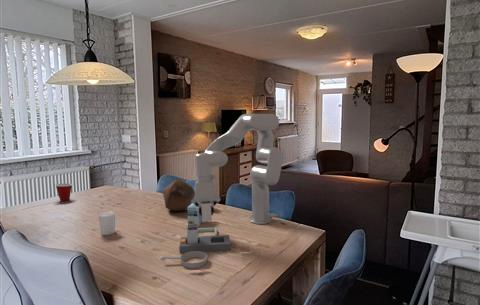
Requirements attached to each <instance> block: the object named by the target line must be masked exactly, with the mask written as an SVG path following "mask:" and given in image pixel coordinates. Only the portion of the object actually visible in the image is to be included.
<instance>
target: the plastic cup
mask: <svg viewBox="0 0 480 305" xmlns="http://www.w3.org/2000/svg"><path fill="white" fill-rule="evenodd" d="M73 185H74V184H73V183H66V182H65V183H57V184H55V186H56V191H57V194H58V198H59V201H60V202H61V203H62V202H63V203H65V202H69V201H70V199H71V193H72V192H71V191H72V187H73Z"/></svg>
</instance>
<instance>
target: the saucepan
mask: <svg viewBox="0 0 480 305" xmlns="http://www.w3.org/2000/svg"><path fill="white" fill-rule="evenodd" d="M161 258H162V259H164V260H165V259H167V260H168V259H169V260H180V263H181V265H182V266H183V268H187V269H191V271H196V270H198V269H199V268H201V267H203V266H205V265H206V264H207V263H208V262H207V261H208V254H207V252H201V251H191V252H187V253H182V255H181V256H169V255H168V256H167V255H166V256H165V255H163V256H162V257H161ZM191 258H202V259H204V260H201V261H198V262H186V261H185V260H187V259H191Z"/></svg>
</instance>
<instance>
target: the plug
mask: <svg viewBox="0 0 480 305" xmlns="http://www.w3.org/2000/svg"><path fill="white" fill-rule="evenodd" d="M201 208H202V222H203V223H205V222H206V223H207V222H212V215H211V203H210V201H205V202H201Z"/></svg>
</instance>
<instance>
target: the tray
mask: <svg viewBox="0 0 480 305" xmlns="http://www.w3.org/2000/svg"><path fill="white" fill-rule="evenodd" d="M200 232H201V233H203V232H204V233H205V232H214V234H213V235H212V234H211V235H208V236H218V233H217V232H218V231H217V227H200V228H199V227H198V233H200Z"/></svg>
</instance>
